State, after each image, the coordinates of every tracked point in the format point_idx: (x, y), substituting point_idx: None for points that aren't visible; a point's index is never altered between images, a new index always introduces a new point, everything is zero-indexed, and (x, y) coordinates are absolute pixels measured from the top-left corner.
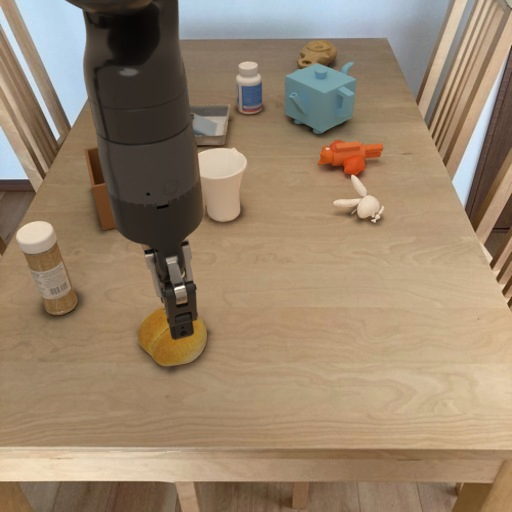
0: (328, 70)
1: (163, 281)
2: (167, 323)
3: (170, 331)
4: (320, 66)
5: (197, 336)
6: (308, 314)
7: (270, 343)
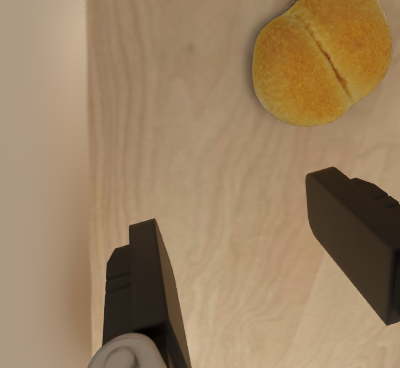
0: None
1: (372, 253)
2: (341, 58)
3: (130, 249)
4: None
5: (296, 118)
6: (307, 262)
7: (269, 214)
